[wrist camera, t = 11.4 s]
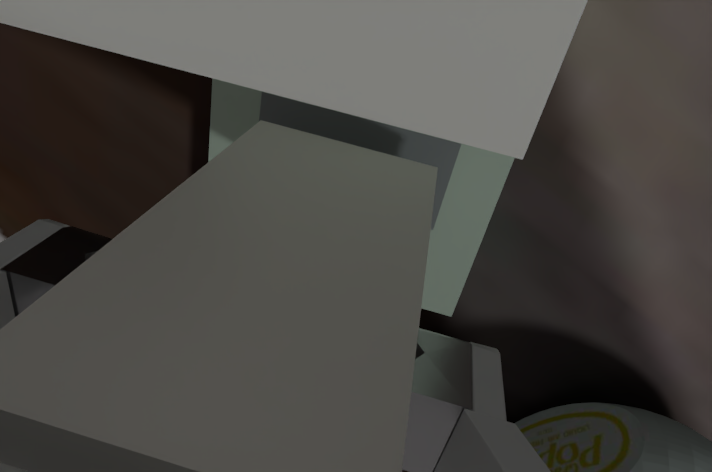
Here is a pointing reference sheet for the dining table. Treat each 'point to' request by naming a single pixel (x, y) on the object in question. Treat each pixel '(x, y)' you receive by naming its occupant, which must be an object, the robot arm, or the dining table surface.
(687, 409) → the dining table surface
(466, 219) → the domino board
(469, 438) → the robot arm
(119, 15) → the domino
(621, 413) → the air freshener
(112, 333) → the domino
